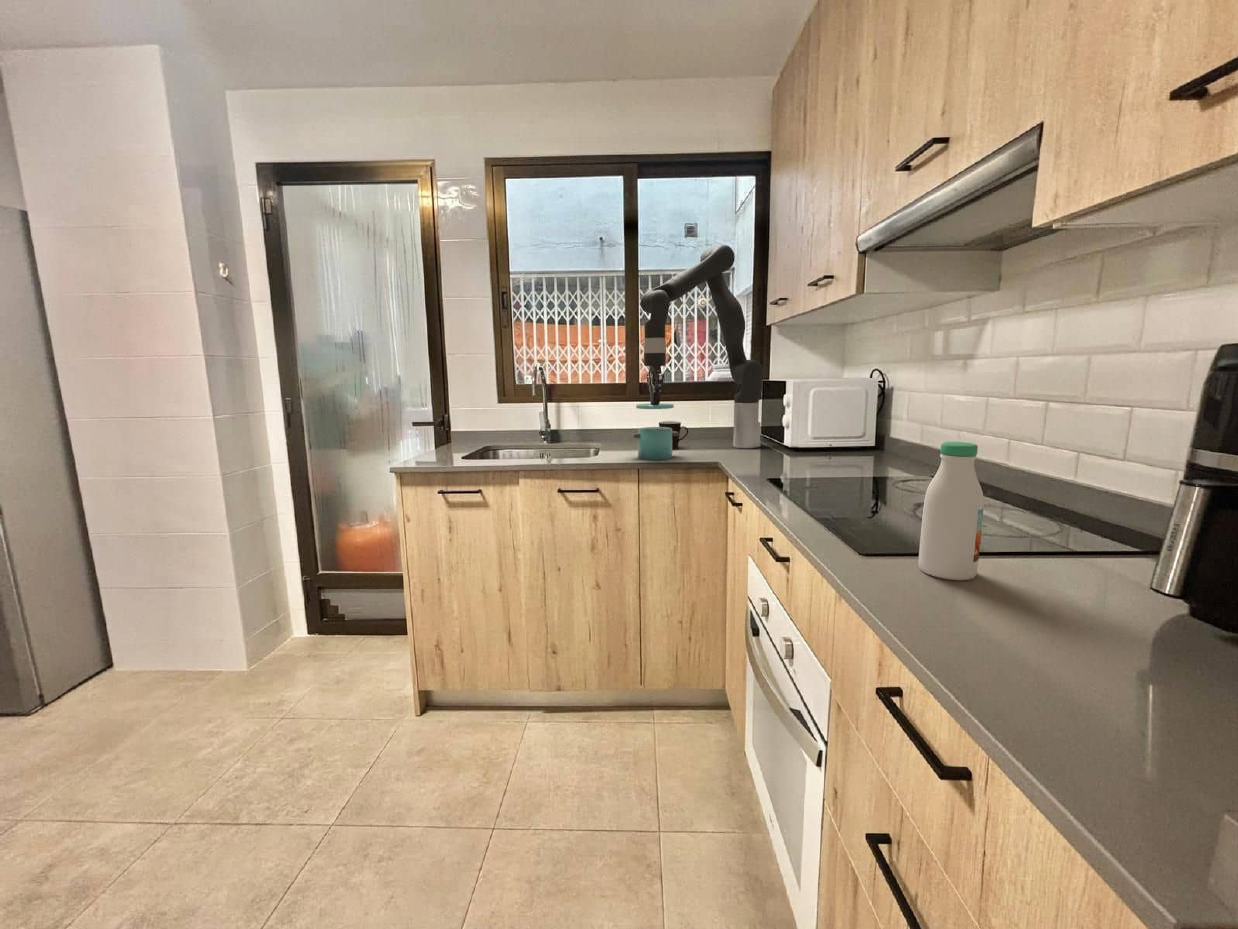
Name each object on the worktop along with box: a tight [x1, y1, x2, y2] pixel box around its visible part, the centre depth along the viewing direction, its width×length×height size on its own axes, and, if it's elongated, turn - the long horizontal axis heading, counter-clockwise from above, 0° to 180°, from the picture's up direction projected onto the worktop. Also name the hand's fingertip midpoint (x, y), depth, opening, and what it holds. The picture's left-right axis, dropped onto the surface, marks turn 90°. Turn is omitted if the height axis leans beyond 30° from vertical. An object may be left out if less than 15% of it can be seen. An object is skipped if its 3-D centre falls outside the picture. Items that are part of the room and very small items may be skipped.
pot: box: [630, 426, 680, 461], centre depth 188 cm, size 16×12×10 cm
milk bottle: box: [918, 441, 985, 581], centre depth 81 cm, size 8×8×20 cm
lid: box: [635, 390, 675, 410], centre depth 185 cm, size 13×13×6 cm
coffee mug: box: [658, 420, 689, 450], centre depth 207 cm, size 12×9×10 cm
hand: (655, 402), depth 185 cm, fingers closed on lid, 3 cm apart
